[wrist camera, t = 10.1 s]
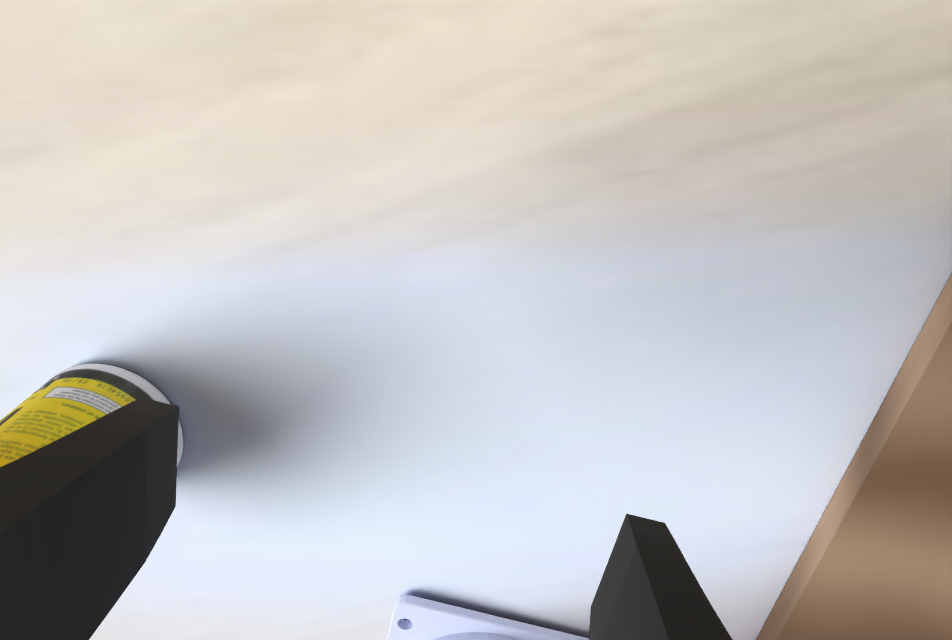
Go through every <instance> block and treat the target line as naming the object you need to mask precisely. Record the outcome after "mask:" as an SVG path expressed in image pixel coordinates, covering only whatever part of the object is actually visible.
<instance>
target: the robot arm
mask: <svg viewBox="0 0 952 640" xmlns="http://www.w3.org/2000/svg"><path fill="white" fill-rule="evenodd" d="M178 421H179V406H175V405H171V404H167V403H163V402H159V401H154V400H150V399H146V398H139V399H137V400H135V401H133V402H131V403H129V404H127V405H125V406H123V407H121V408H119V409H117V410H115V411H113V412H111V413H109V414H107V415H105V416H103V417H101V418H99V419H97V420H95V421H93V422H91V423H89V424H87V425H85V426H83V427H81V428H79V429H78V430H76V431H74V432H72V433H70V434H68V435H66V436H64V437H62V438H60V439H58V440H56V441H54V442H52V443H50V444H48V445H46V446H44V447H41V448H39V449H37V450H35V451H33V452H31V453H29V454H27V455H25V456H23V457H21V458H19V459H17V460H15V461H13V462H10V463H8V464H6V465H4V466H2V467H0V640H89V639H90V637H91V636H92V635H93V633H94V632H95V631H96V629H97V628H98V626H99V625H100V624H101V622H102V621H103V620H104V618H105V617H106V616H107V614H108V613H109V611H110V610H111V609H112V607H113V606H114V605H115V603H116V602H117V600H118V599H119V598H120V596H121V595H122V593H123V592H124V591H125V589H126V588H127V587H128V585H129V584H130V582H131V581H132V580H133V578H134V577H135V575H136V574H137V573H138V571H139V570H140V568H141V567H142V565H143V564H144V563H145V561H146V559H147V557H148V556H149V554H150V552H151V550H152V549H153V547H154V545H155V543H156V542H157V540H158V538H159V536H160V534H161V533H162V531H163V529H164V527H165V525H166V523H167V521H168V519H169V518H170V516H171V514H172V512H173V510H174V508H175V504H176V476H177V449H178ZM402 618H403V619H402ZM404 619H408V620H410V621H406V620H404ZM387 640H732V638H731V637H730V635H729V634H728V632H727V630H726V629H725V627H724V625H723V624H722V622H721V620H720V619H719V617H718V616H717V614H716V612H715V611H714V609H713V607H712V606H711V604H710V602H709V600H708V599H707V597H706V595H705V594H704V592H703V590H702V588H701V587H700V585H699V583H698V581H697V579H696V578H695V576H694V574H693V572H692V571H691V569H690V567H689V565H688V563H687V562H686V560H685V558H684V556H683V554H682V553H681V551H680V549H679V547H678V545H677V544H676V542H675V540H674V538H673V536H672V535H671V533H670V531H669V529H668V528H667V526H666V524H665V523H663V522H658V521H654V520H650V519H646V518H642V517H638V516H633V515H629V514H626V517H625V519H624V522H623V524H622V527H621V530H620V532H619V535H618V537H617V540H616V543H615V545H614V548H613V551H612V553H611V556H610V558H609V561H608V564H607V566H606V569H605V571H604V574H603V577H602V579H601V582H600V584H599V587H598V590H597V592H596V595H595V598H594V600H593V603H592V605H591V614H590V630H589V638H585V637H581V636H577V635H573V634H568V633H564V632H560V631H556V630H552V629H548V628H544V627H539V626H535V625H531V624H527V623H523V622H519V621H515V620H511V619H506V618H502V617H498V616H494V615H490V614H486V613H482V612H477V611H473V610H469V609H465V608H461V607H457V606H453V605H449V604H444V603H440V602H436V601H432V600H428V599H424V598H420V597H415V596H411V595H404V596H401V597H399V598H398V599H397V600H396V602H395V605H394V609H393V613H392V618H391V622H390V627H389V631H388V636H387Z"/></svg>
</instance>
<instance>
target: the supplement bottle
mask: <svg viewBox="0 0 952 640" xmlns="http://www.w3.org/2000/svg"><path fill="white" fill-rule="evenodd" d="M139 398H146V399H150V400H154V401H159V402H163V403H167V404H170V402H169V401H168V400H167V399H166V397H165V396H164V395H163V394H162V393H161V392H160V391H159V390H158V389H157V388H156V387H154V386H153V385H152V384H151V383H149V382H148V381H147V380H145V379H143V378H142V377H140V376H138V375H136V374H134V373H132V372H130V371H127V370H125V369H122V368H119V367H115V366H110V365H105V364H82V365H77V366H73V367H70V368H68V369H66V370H64V371H62V372H60V373H58V374H57V375H56V376H54V377H53V378H52V379H50V380H49V381H48V382H47V383H45V384H44V385H43V386H42V387H41V388H39V389H38V390H37V391H36V392H34V393H33V394H32V395H31V396H30V397H29V398H27V399H26V400H25V401H24V402H23V403H21V404H20V405H19V406H18V407H17V408H15V409H14V410H13V411H12V412H10V413H9V414H8V415H7V416H5V417H4V418H3V419H2V420H1V421H0V467H2V466H4V465H6V464H8V463H10V462H13V461H15V460H17V459H19V458H21V457H23V456H25V455H27V454H29V453H31V452H33V451H35V450H37V449H39V448H41V447H44V446H46V445H48V444H50V443H52V442H54V441H56V440H58V439H60V438H62V437H64V436H66V435H68V434H70V433H72V432H74V431H76V430H78V429H79V428H81V427H83V426H85V425H87V424H89V423H91V422H93V421H95V420H97V419H99V418H101V417H103V416H105V415H107V414H109V413H111V412H113V411H115V410H117V409H119V408H121V407H123V406H125V405H127V404H129V403H131V402H133V401H135V400H137V399H139ZM182 452H183V434H182V428H181V425H180V421H178V449H177V466H178V464H179V462H180V459H181V456H182Z"/></svg>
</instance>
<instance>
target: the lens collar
mask: <svg viewBox="0 0 952 640" xmlns="http://www.w3.org/2000/svg"><path fill="white" fill-rule="evenodd" d="M756 640H952V274H951V275H950V277H949V279H948V281H947V283H946V285H945V287H944V288H943V290H942V292H941V294H940V296H939V298H938V300H937V302H936V303H935V305H934V307H933V309H932V311H931V313H930V315H929V317H928V318H927V320H926V322H925V324H924V326H923V328H922V330H921V332H920V333H919V335H918V337H917V339H916V341H915V343H914V345H913V347H912V348H911V350H910V352H909V354H908V356H907V358H906V360H905V362H904V363H903V365H902V367H901V369H900V371H899V373H898V375H897V377H896V378H895V380H894V382H893V384H892V386H891V388H890V390H889V392H888V393H887V395H886V397H885V399H884V401H883V403H882V405H881V406H880V408H879V410H878V412H877V414H876V416H875V418H874V420H873V421H872V423H871V425H870V427H869V429H868V431H867V433H866V435H865V436H864V438H863V440H862V442H861V444H860V446H859V448H858V450H857V451H856V453H855V455H854V457H853V459H852V461H851V463H850V465H849V466H848V468H847V470H846V472H845V474H844V476H843V478H842V480H841V481H840V483H839V485H838V487H837V489H836V491H835V493H834V495H833V496H832V498H831V500H830V502H829V504H828V506H827V508H826V510H825V511H824V513H823V515H822V517H821V519H820V521H819V523H818V525H817V526H816V528H815V530H814V532H813V534H812V536H811V538H810V539H809V541H808V543H807V545H806V547H805V549H804V551H803V553H802V554H801V556H800V558H799V560H798V562H797V564H796V566H795V568H794V569H793V571H792V573H791V575H790V577H789V579H788V581H787V583H786V584H785V586H784V588H783V590H782V592H781V594H780V596H779V598H778V599H777V601H776V603H775V605H774V607H773V609H772V611H771V613H770V614H769V616H768V618H767V620H766V622H765V624H764V626H763V628H762V629H761V631H760V633H759V635H758V637H757V639H756Z"/></svg>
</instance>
